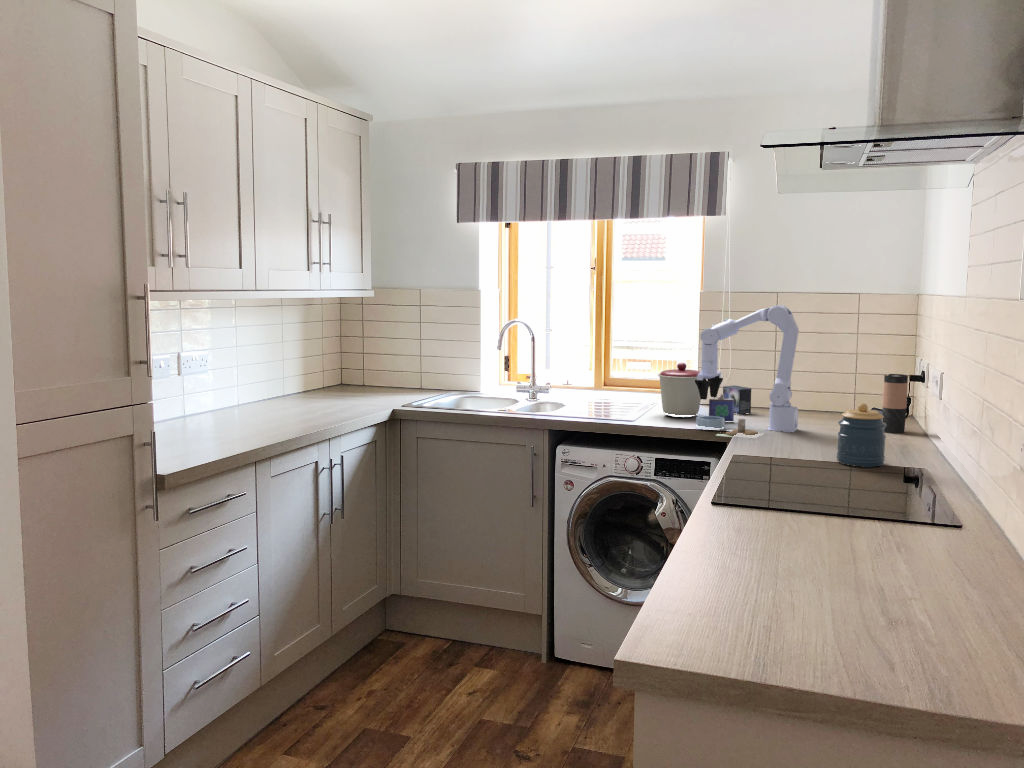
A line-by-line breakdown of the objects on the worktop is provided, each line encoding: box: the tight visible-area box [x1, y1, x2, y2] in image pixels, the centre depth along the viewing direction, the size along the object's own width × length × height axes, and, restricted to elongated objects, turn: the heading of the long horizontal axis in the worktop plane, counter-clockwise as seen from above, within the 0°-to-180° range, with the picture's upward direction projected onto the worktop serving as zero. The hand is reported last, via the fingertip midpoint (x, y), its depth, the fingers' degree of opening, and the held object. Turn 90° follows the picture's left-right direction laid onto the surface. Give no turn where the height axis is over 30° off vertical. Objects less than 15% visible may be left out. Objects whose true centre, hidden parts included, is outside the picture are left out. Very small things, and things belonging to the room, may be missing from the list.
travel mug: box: [881, 373, 909, 434], centre depth 301 cm, size 8×8×20 cm
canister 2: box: [836, 402, 887, 468], centre depth 250 cm, size 13×13×18 cm
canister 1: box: [657, 362, 702, 416], centre depth 336 cm, size 18×18×21 cm
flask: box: [708, 393, 735, 421], centre depth 322 cm, size 9×3×11 cm, turn 88°
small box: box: [722, 384, 752, 415], centre depth 345 cm, size 11×6×10 cm, turn 25°
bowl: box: [695, 415, 726, 428], centre depth 309 cm, size 10×10×4 cm
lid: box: [726, 418, 759, 436], centre depth 297 cm, size 11×11×5 cm
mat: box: [715, 433, 734, 438], centre depth 297 cm, size 14×14×1 cm
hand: (708, 398), depth 316 cm, fingers open, 7 cm apart
